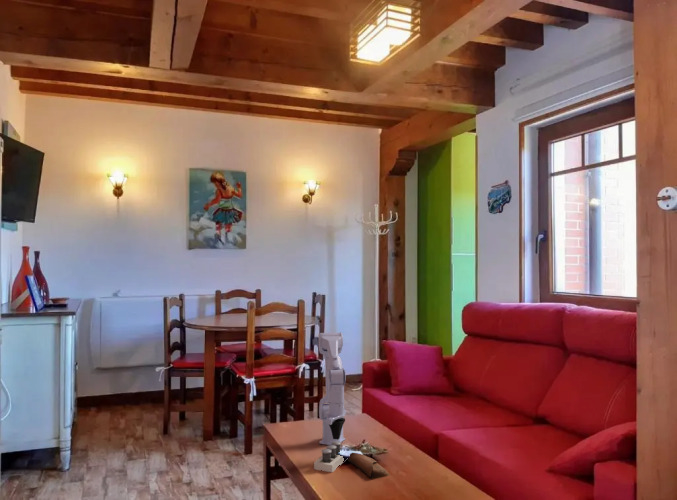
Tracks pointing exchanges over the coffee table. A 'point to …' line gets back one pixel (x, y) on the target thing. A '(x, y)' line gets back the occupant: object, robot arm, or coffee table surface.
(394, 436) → the coffee table surface
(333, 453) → the knob middle
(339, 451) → the knob
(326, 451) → the knob
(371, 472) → the sunglasses case
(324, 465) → the knob board
